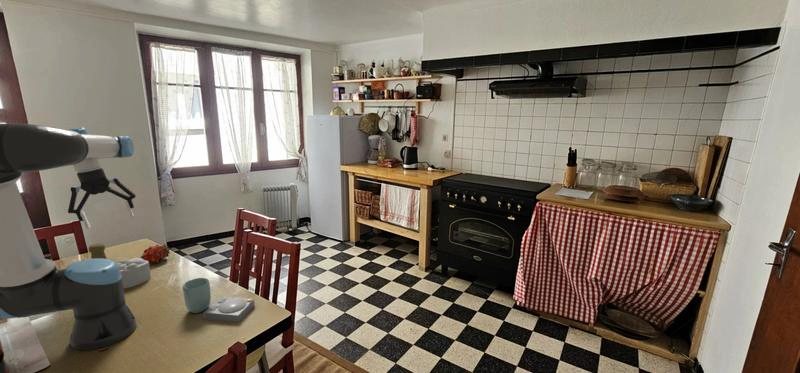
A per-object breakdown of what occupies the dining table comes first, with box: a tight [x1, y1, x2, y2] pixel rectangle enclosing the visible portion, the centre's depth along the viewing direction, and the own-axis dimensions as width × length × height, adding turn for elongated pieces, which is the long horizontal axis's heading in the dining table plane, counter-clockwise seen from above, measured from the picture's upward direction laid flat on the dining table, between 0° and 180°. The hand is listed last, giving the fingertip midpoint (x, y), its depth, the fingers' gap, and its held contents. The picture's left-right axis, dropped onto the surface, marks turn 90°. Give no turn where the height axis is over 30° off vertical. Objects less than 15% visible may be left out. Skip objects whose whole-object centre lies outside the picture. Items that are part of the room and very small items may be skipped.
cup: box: [182, 277, 212, 314], centre depth 116 cm, size 8×8×10 cm
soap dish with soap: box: [203, 296, 255, 323], centre depth 115 cm, size 10×12×3 cm
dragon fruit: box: [140, 244, 171, 264], centre depth 152 cm, size 8×8×12 cm
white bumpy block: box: [116, 257, 152, 290], centre depth 133 cm, size 10×13×9 cm
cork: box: [88, 242, 108, 259], centre depth 144 cm, size 6×6×11 cm
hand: (111, 222), depth 131 cm, fingers open, 13 cm apart
